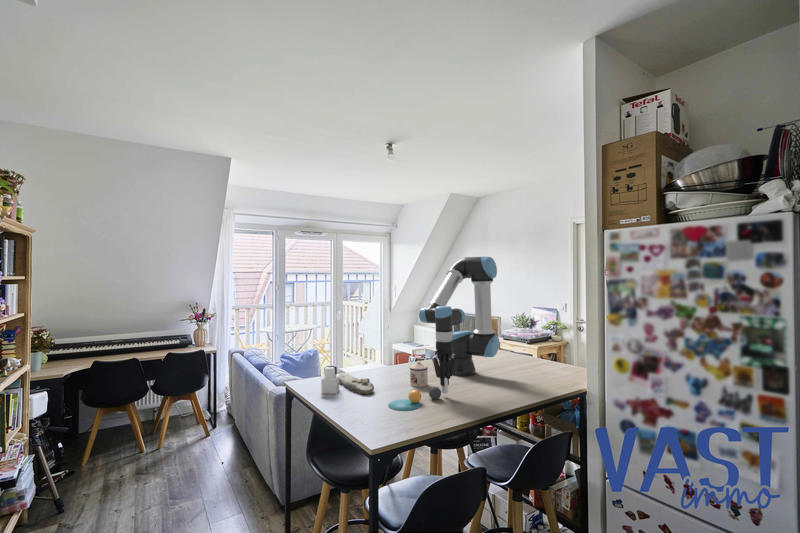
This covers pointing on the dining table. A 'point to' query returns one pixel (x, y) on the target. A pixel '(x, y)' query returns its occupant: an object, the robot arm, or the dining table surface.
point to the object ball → (414, 396)
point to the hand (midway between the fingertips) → (444, 392)
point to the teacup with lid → (418, 375)
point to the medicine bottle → (330, 380)
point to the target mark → (404, 405)
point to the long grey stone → (356, 384)
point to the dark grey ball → (435, 393)
